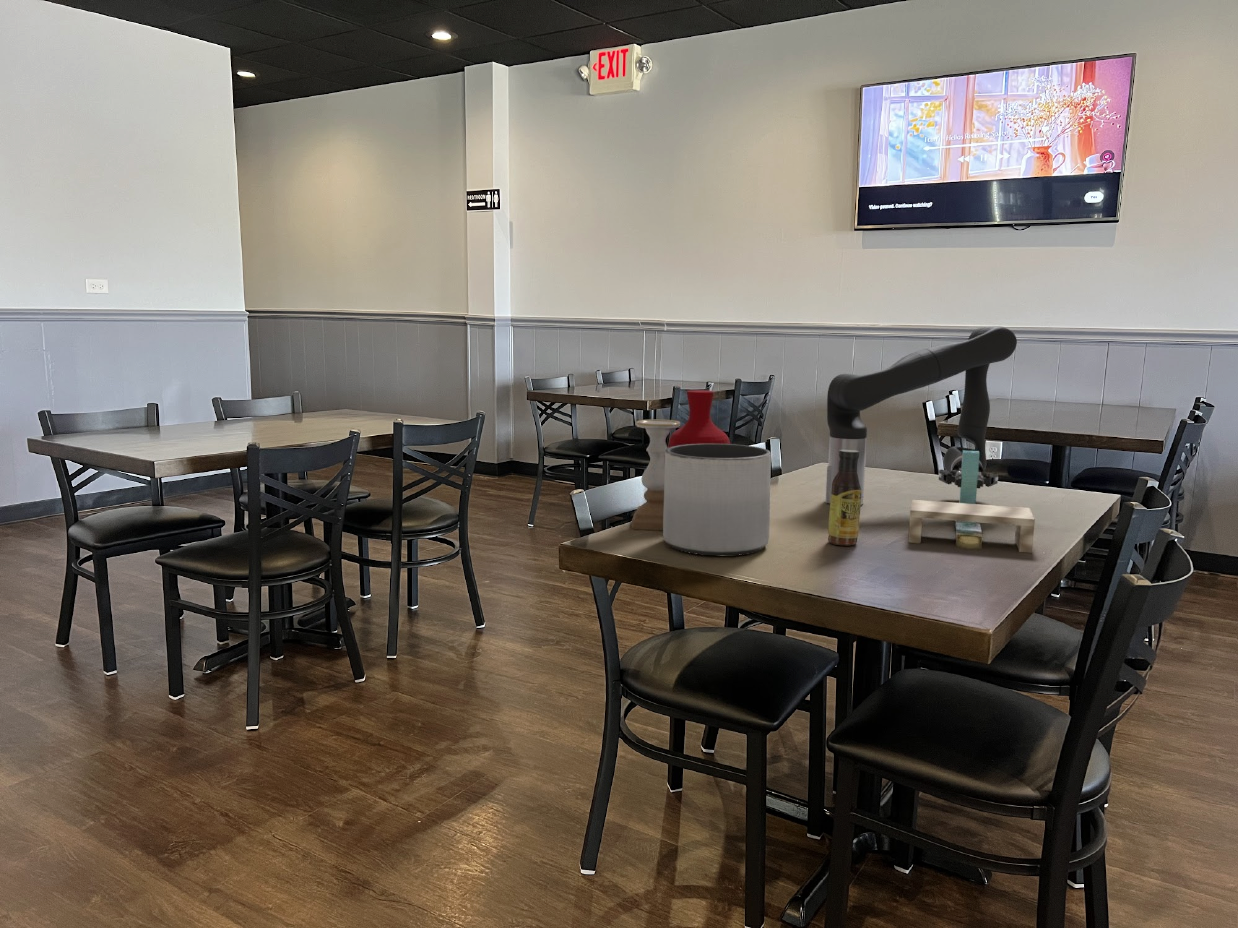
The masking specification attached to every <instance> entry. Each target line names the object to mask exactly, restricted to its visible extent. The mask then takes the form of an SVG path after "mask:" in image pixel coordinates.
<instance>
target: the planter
mask: <svg viewBox="0 0 1238 928" xmlns="http://www.w3.org/2000/svg"><path fill="white" fill-rule="evenodd" d="M771 465H772V452H771V451H770V450H769V449H766V448H763V447H758V446H752V445H745V444H736V443H730V444H687V445H678V446H673V447H670V448H667V449H666V450H665V483H664V514H663V531H662V535H663V541H664V542H665V543H666V544H668V546H670V547H671V548H673V549H675V550H677V549H678V550H677V551H679V550H682V551H681V552H683V551H686V552H690V553H689V554H691V553H697V554H703V555H702V556H705V555H737V556H740V555H739V554H745V555H748V554H747V553H750V554H753V553H752V552H754V553H756V552H758V551H760V550H762V549H763V548H765V547H767V545H768V544H769V539H770V522H771V520H770V517H771V516H770V515H771V512H770V511H771V470H772V469H771V468H772V467H771ZM755 551H756V552H755ZM686 552H685V553H686ZM697 554H696V555H697Z"/></svg>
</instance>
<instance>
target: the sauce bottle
mask: <svg viewBox="0 0 1238 928" xmlns="http://www.w3.org/2000/svg"><path fill="white" fill-rule="evenodd" d="M839 457H840V461H839V468H838V469H839V472H838V474H837V475H836V476H835V477H834V480H833V482H832V492H831V498H830V503H829V514H828V527H827V529H828V530H827V534H828V537H827V542H828V543H830V544H832V545H836V546H846V547H847V546H848V547H849V546H853V545H857V543H858V537H859V531H860V530H859V529H860V520H861V519H860V517H861V505H862V504H861V492H862V490H861V487H860V483H859V479H858V474H857V462H858V458H859V451H856V450H840V451H839Z"/></svg>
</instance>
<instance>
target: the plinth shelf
mask: <svg viewBox="0 0 1238 928" xmlns="http://www.w3.org/2000/svg"><path fill="white" fill-rule="evenodd" d="M909 511H910V513H909V514H910V515H909V529H908V530H909V531H908V543H911V544H912V543H913V544H921V542H922V528H923V519H929V520H930V519H931V520H944V521H954V522H955V521H967V522H980V524H981V523H982V524H996V525H1008V526H1009V525H1010V526H1015V530H1014V531H1015V532H1014V541H1015V543H1016V546H1017V550H1018V552H1019V553H1028V554H1030V553H1031V554H1032V553H1033V547H1034V546H1033V545H1034V537H1035V536H1034V535H1035V534H1034V533H1035V522H1036V518H1035V517H1034V515H1033V513H1032V510H1031V508H1030V507H1020V506H1006V505H1005V506H1004V505H993V504H992V505H991V504H979V503H976V504H966V503H959V502H949V501H937V500H936V501H935V500H923V499H922V500H921V499H919V500H918V499H912V500H911V505H910V510H909Z"/></svg>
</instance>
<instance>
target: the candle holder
mask: <svg viewBox="0 0 1238 928" xmlns="http://www.w3.org/2000/svg"><path fill="white" fill-rule="evenodd" d="M635 426H636V427H637V428H642V429H645V431H646V434H647V435H648V437H649V444H648V446H647V448H646V452H647V453H648V456H649V458H650V459H649V460H650V461H649V463H648V465H647V467H646V468H645V470H644V471H643V473H642V476H641V484H642V486H644V487H645V488H646V489H647V490H646V491H645V492H644V493H643V498H644V500H645V501H646V502H645V503H643V504H641V505H640V506H638V507H637V508H636V511H635V512H634V514H633V516H632V519H631V530H636V531H638V530H639V531H661V530H663V514H664V483H665V450H666V449H667V448H668V447H669V446H668V445H667V442H666V439H667V436H668V435H669V434H670V432H671V429H677V428H681V426H682V425H681V421H679V420H674V419H653V418H652V419H640V420H636V421H635Z"/></svg>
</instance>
